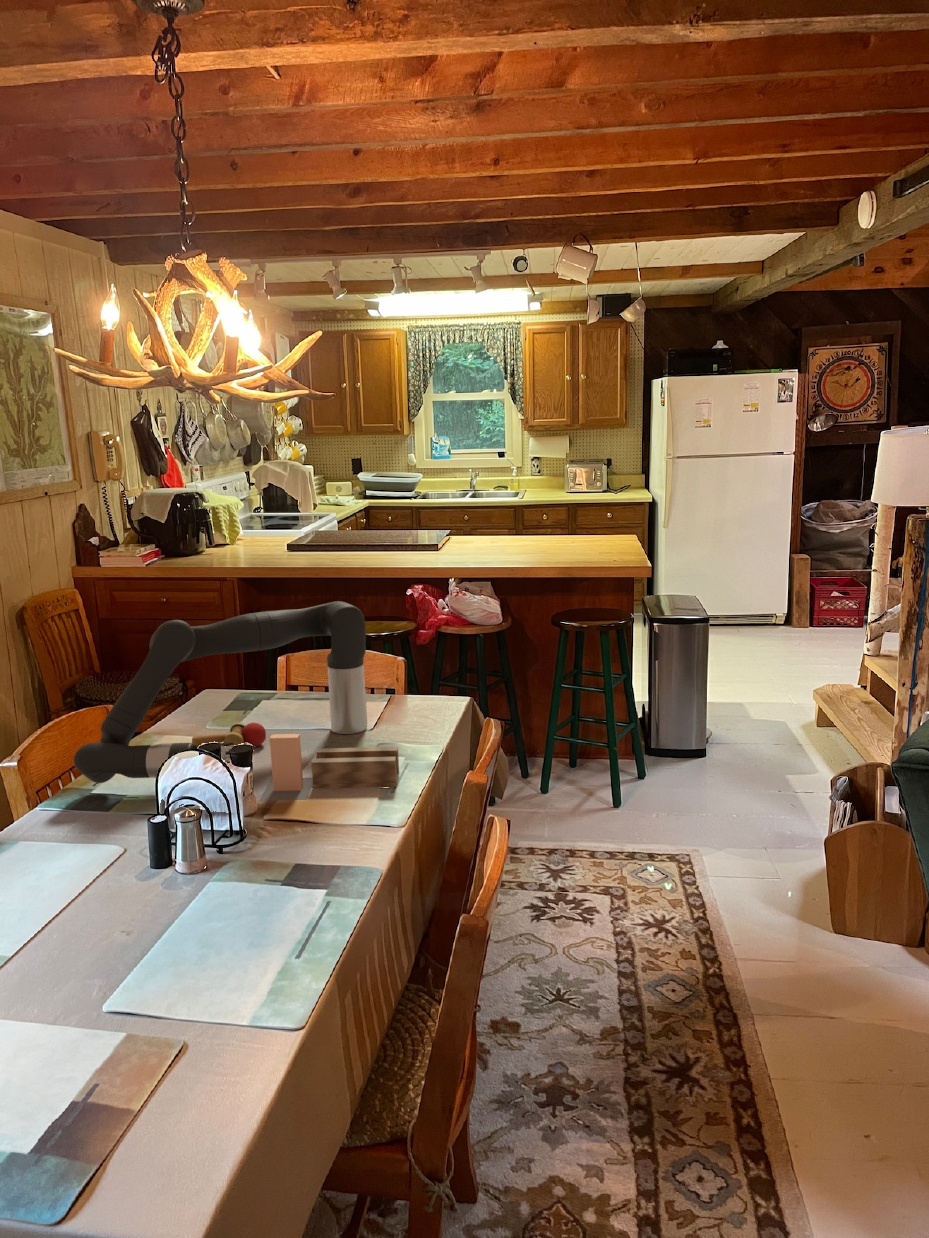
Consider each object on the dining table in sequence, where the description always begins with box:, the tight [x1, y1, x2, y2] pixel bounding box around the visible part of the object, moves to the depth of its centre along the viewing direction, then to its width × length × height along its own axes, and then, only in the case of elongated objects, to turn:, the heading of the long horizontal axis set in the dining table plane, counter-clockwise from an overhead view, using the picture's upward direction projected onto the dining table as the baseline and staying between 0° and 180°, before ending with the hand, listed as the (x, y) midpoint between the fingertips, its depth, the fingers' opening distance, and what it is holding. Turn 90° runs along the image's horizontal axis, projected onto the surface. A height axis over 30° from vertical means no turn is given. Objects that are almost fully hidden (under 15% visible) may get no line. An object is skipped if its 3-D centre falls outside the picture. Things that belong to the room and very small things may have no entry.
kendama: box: [191, 722, 267, 748], centre depth 224 cm, size 8×6×18 cm
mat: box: [259, 777, 313, 802], centre depth 197 cm, size 10×12×1 cm
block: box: [269, 733, 304, 791], centre depth 195 cm, size 6×2×12 cm, turn 90°
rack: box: [311, 746, 400, 789], centre depth 200 cm, size 18×9×6 cm, turn 90°
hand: (247, 758), depth 195 cm, fingers open, 8 cm apart
